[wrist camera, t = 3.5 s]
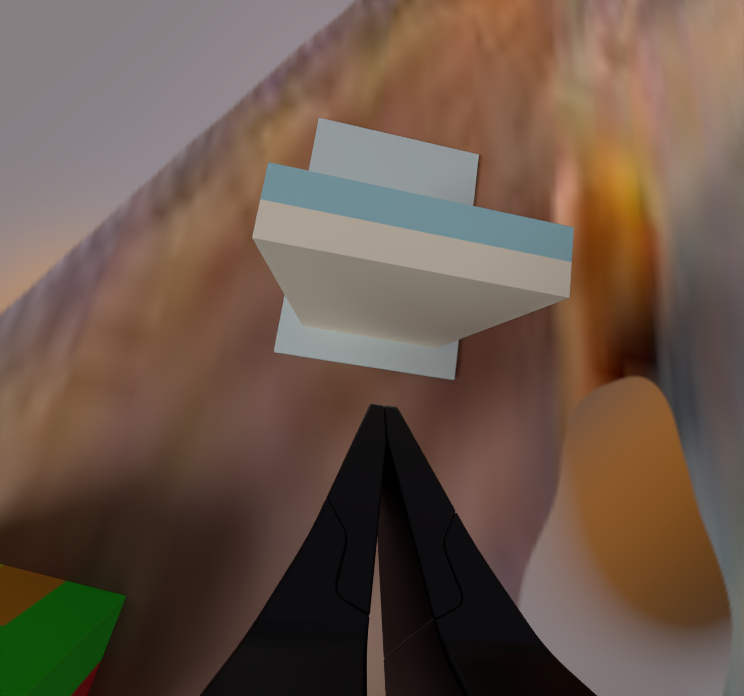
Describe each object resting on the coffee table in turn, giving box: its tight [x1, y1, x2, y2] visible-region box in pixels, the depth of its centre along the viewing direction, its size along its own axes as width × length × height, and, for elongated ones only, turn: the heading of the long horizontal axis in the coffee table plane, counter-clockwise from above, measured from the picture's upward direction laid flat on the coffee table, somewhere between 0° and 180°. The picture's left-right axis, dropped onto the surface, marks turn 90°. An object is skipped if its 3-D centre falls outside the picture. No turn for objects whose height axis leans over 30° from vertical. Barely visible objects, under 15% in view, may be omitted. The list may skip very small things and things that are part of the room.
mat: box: [274, 118, 479, 380], centre depth 21 cm, size 17×12×1 cm
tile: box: [252, 162, 574, 348], centre depth 14 cm, size 2×9×12 cm, turn 81°
